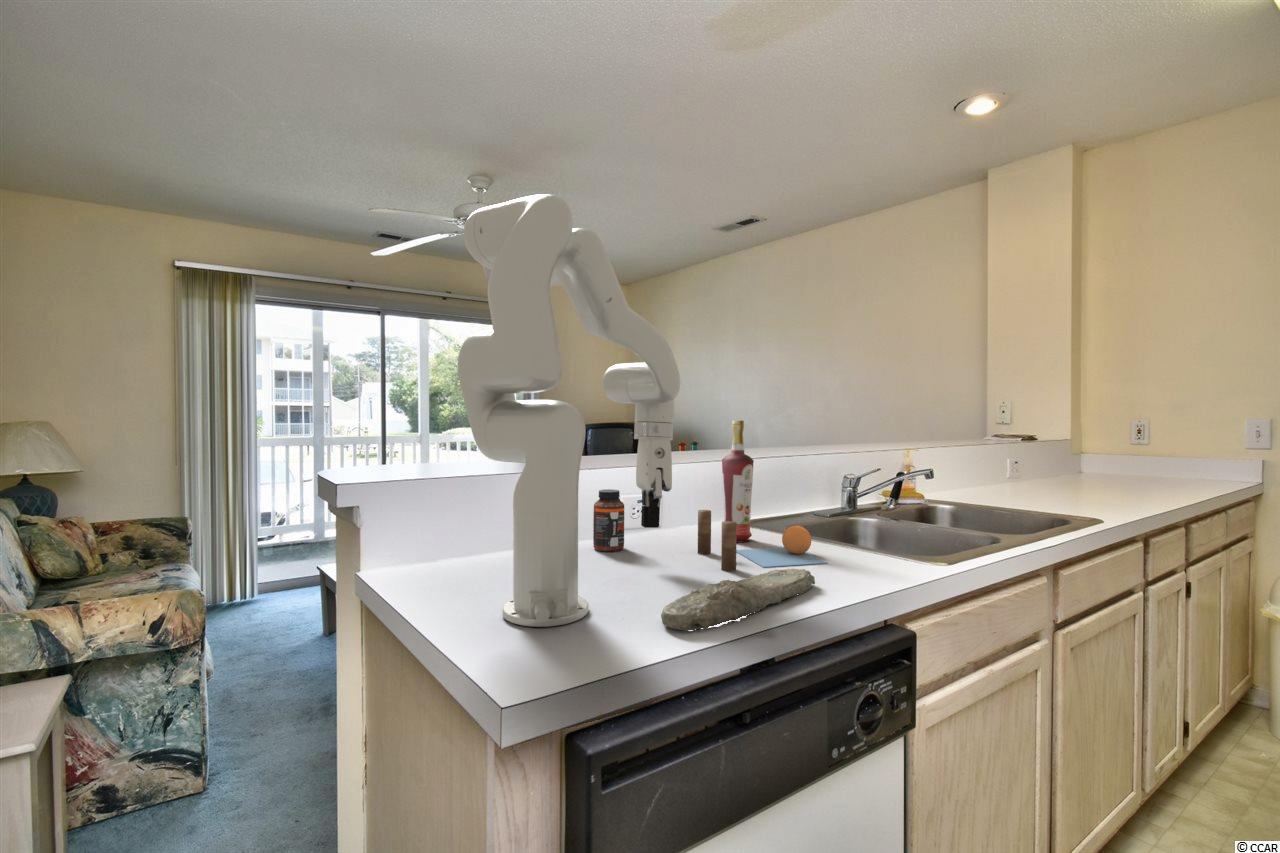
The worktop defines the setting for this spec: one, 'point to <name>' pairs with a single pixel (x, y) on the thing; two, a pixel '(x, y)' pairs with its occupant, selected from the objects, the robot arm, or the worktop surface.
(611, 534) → the supplement bottle
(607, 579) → the worktop surface
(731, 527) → the post
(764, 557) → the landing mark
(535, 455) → the robot arm
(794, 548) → the ball
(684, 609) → the long grey stone
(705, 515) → the post
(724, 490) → the liquor
